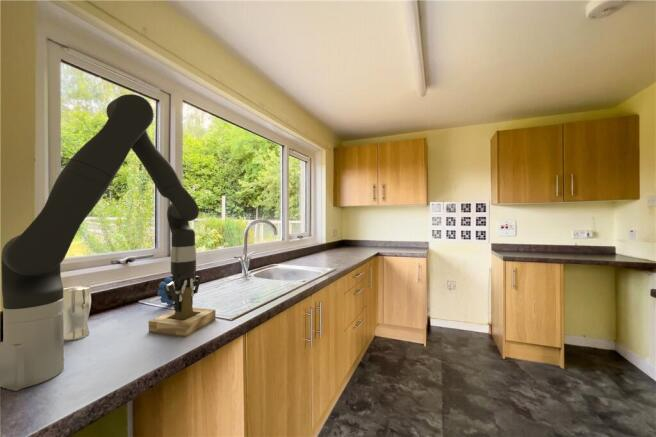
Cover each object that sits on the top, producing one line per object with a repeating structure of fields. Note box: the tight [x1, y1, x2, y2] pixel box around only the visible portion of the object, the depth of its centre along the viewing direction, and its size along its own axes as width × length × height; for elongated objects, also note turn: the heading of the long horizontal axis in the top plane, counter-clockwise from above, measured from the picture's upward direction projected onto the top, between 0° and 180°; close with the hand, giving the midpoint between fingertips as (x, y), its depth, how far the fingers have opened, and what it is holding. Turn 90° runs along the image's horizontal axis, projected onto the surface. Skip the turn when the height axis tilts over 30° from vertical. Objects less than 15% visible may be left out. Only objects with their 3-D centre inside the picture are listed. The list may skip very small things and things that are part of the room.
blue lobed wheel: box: [157, 276, 174, 306], centre depth 109 cm, size 12×7×12 cm, turn 164°
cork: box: [174, 287, 194, 321], centre depth 88 cm, size 6×6×11 cm
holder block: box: [148, 306, 216, 338], centre depth 88 cm, size 14×14×4 cm
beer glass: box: [63, 285, 92, 342], centre depth 80 cm, size 7×7×15 cm
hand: (183, 309), depth 88 cm, fingers closed on cork, 3 cm apart
